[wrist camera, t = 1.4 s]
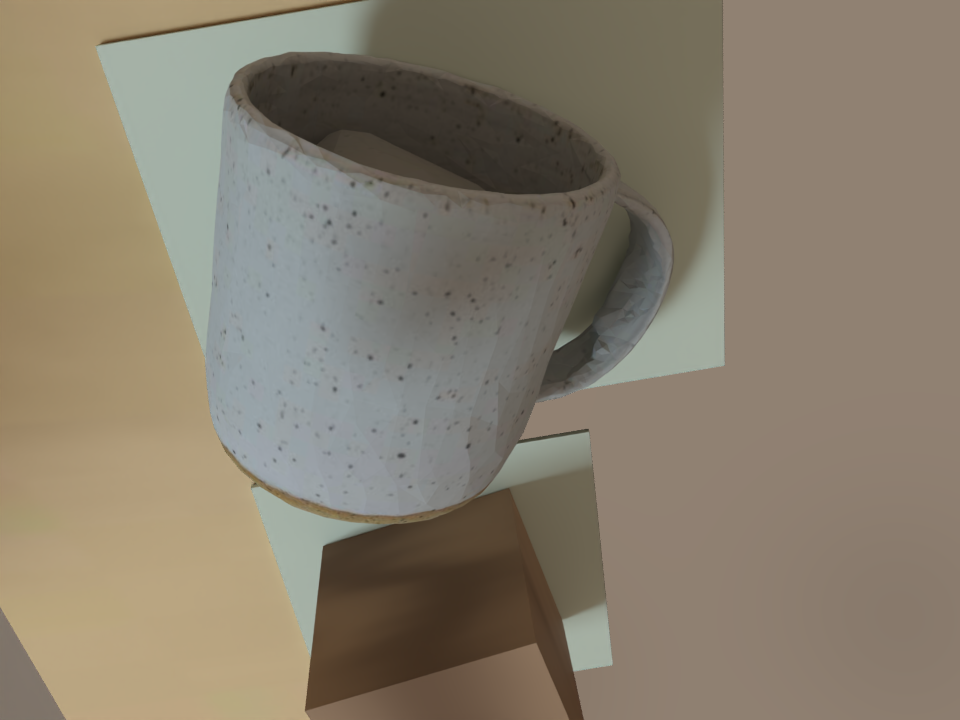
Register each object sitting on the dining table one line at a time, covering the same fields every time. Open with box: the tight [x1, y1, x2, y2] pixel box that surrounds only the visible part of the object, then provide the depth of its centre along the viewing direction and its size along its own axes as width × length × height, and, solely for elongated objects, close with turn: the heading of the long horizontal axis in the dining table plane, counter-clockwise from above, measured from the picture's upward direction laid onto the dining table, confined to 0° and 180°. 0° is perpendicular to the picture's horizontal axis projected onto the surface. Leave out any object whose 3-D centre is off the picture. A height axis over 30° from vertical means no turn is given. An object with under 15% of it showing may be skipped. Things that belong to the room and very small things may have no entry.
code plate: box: [95, 0, 725, 389], centre depth 22 cm, size 14×11×1 cm
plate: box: [251, 429, 613, 671], centre depth 28 cm, size 10×10×1 cm
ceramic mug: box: [205, 52, 674, 524], centre depth 19 cm, size 11×8×8 cm
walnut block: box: [305, 488, 584, 720], centre depth 26 cm, size 6×6×6 cm
